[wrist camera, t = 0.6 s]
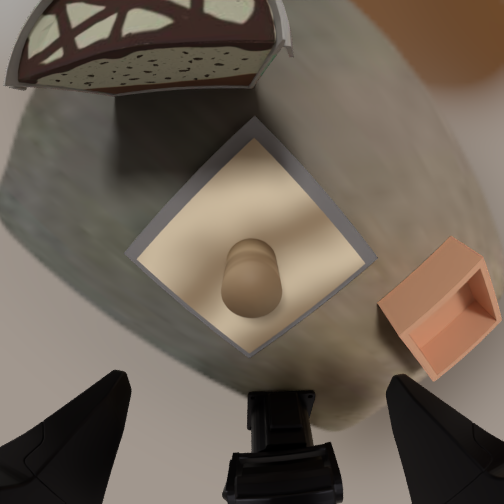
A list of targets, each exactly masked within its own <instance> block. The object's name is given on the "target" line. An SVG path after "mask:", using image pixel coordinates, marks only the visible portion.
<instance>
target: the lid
mask: <svg viewBox="0 0 504 504" xmlns="http://www.w3.org/2000/svg"><path fill="white" fill-rule="evenodd" d="M137 260H138V261H139V262H140V263H141V264H142V265H143V266H145V267H146V268H147V269H148V270H149V271H150V272H151V273H152V274H153V275H154V276H156V277H157V278H158V279H159V280H160V281H161V282H162V283H163V284H165V285H166V286H167V287H168V288H169V289H170V290H171V291H173V292H174V293H175V294H176V295H177V296H178V297H180V298H181V299H182V300H183V301H184V302H185V303H187V304H188V305H189V306H190V307H191V308H193V309H194V310H195V311H196V312H197V313H199V314H200V315H201V316H202V317H204V318H205V319H206V320H207V321H208V322H210V323H211V324H212V325H213V326H215V327H216V328H217V329H218V330H220V331H221V332H222V333H223V334H225V335H226V336H227V337H228V338H230V339H231V340H232V341H234V342H235V343H236V344H237V345H239V346H240V347H241V348H243V349H244V350H245V351H247V352H248V353H249V354H250V353H251V352H252V351H254V350H255V349H257V348H258V347H259V346H261V345H262V344H264V343H265V342H266V341H268V340H269V339H271V338H272V337H273V336H275V335H276V334H277V333H279V332H280V331H282V330H283V329H284V328H286V327H287V326H288V325H290V324H291V323H292V322H294V321H295V320H296V319H298V318H299V317H300V316H301V315H303V314H304V313H305V312H307V311H308V310H309V309H310V308H312V307H313V306H314V305H316V304H317V303H318V302H319V301H321V300H322V299H323V298H324V297H326V296H327V295H328V294H329V293H331V292H332V291H333V290H334V289H336V288H337V287H338V286H339V285H341V284H342V283H343V282H344V281H345V280H347V279H348V278H349V277H350V276H351V275H353V274H354V273H355V272H356V271H357V270H358V269H360V268H361V267H362V266H363V265H364V264H365V262H364V261H363V260H362V258H361V257H360V256H359V255H358V253H357V252H356V251H355V250H354V248H353V247H352V246H351V245H350V244H349V242H348V241H347V240H346V239H345V237H344V236H343V235H342V234H341V233H340V231H339V230H338V229H337V228H336V227H335V225H334V224H333V223H332V222H331V221H330V220H329V218H328V217H327V216H326V215H325V214H324V213H323V211H322V210H321V209H320V208H319V207H318V206H317V204H316V203H315V202H314V201H313V200H312V199H311V198H310V197H309V195H308V194H307V193H306V192H305V191H304V190H303V189H302V188H301V187H300V185H299V184H298V183H297V182H296V181H295V180H294V179H293V178H292V177H291V176H290V174H289V173H288V172H287V171H286V170H285V169H284V168H283V167H282V166H281V165H280V164H279V163H278V162H277V161H276V160H275V158H274V157H273V156H272V155H271V154H270V153H269V152H268V151H267V150H266V149H265V148H264V147H263V146H262V145H261V144H260V143H259V142H258V141H257V140H256V139H255V138H253V139H252V140H251V141H250V142H249V143H248V144H247V145H246V146H245V147H244V148H243V149H242V150H241V151H240V152H238V153H237V154H236V155H235V156H234V157H233V158H232V159H231V160H230V161H229V162H228V163H227V164H226V165H225V166H224V167H223V168H222V169H221V170H220V171H219V172H218V173H217V174H216V175H215V176H214V177H213V178H212V179H211V180H210V181H209V182H208V183H207V184H206V185H205V186H204V187H203V188H202V189H201V190H200V191H199V192H198V193H197V194H196V195H195V196H194V197H193V198H192V199H191V200H190V201H189V202H188V203H187V204H186V205H185V206H184V207H183V208H182V210H181V211H180V212H179V213H178V214H177V215H176V216H175V217H174V218H173V219H172V220H171V221H170V222H169V223H168V225H167V226H166V227H165V228H164V229H163V230H162V231H161V232H160V233H159V234H158V236H157V237H156V238H155V239H154V240H153V241H152V242H151V243H150V244H149V246H148V247H147V248H146V249H145V250H144V251H143V252H142V254H141V255H140V256H139V257H138V258H137Z"/></svg>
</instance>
